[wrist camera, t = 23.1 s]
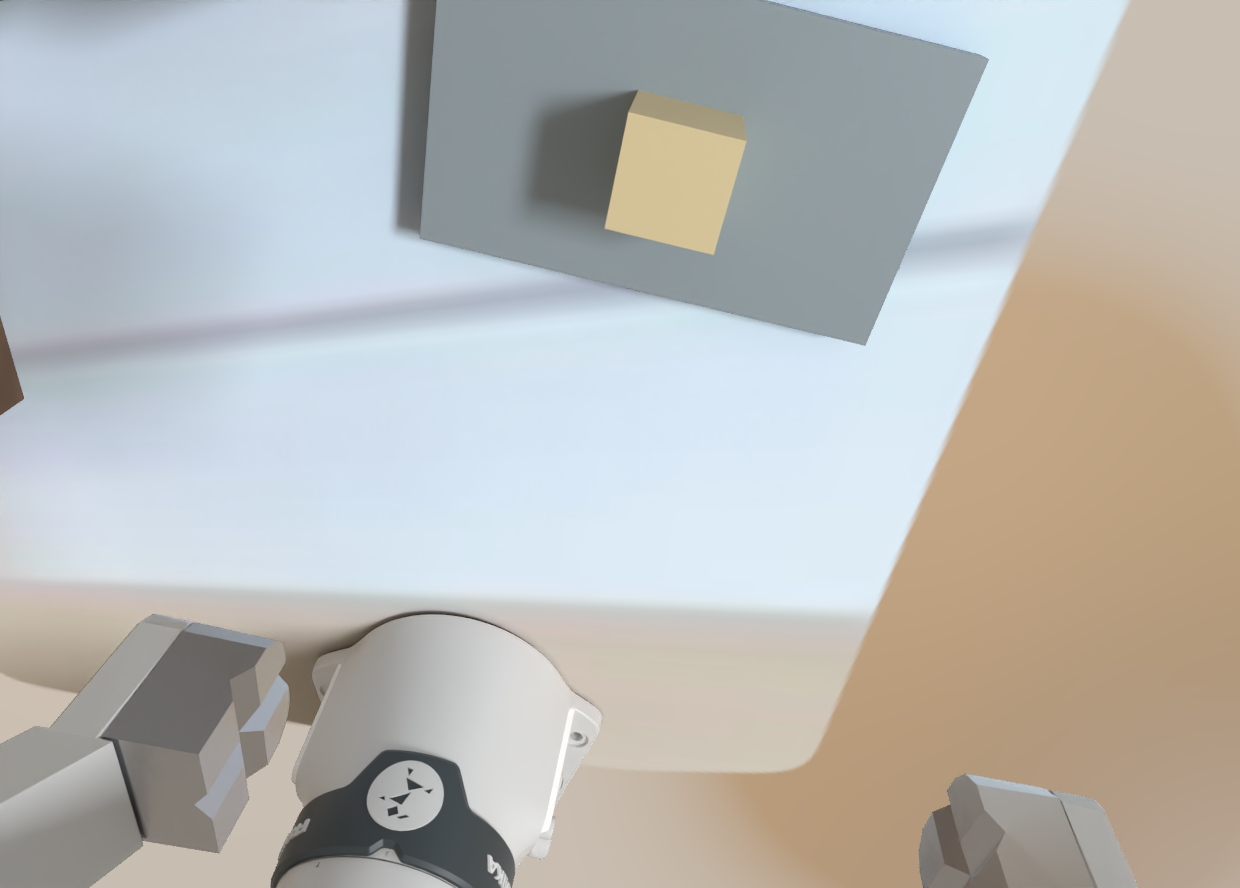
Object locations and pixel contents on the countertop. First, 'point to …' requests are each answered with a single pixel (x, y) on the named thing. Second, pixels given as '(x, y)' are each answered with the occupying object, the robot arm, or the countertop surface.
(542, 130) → the lid
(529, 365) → the countertop surface
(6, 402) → the wooden mallet
